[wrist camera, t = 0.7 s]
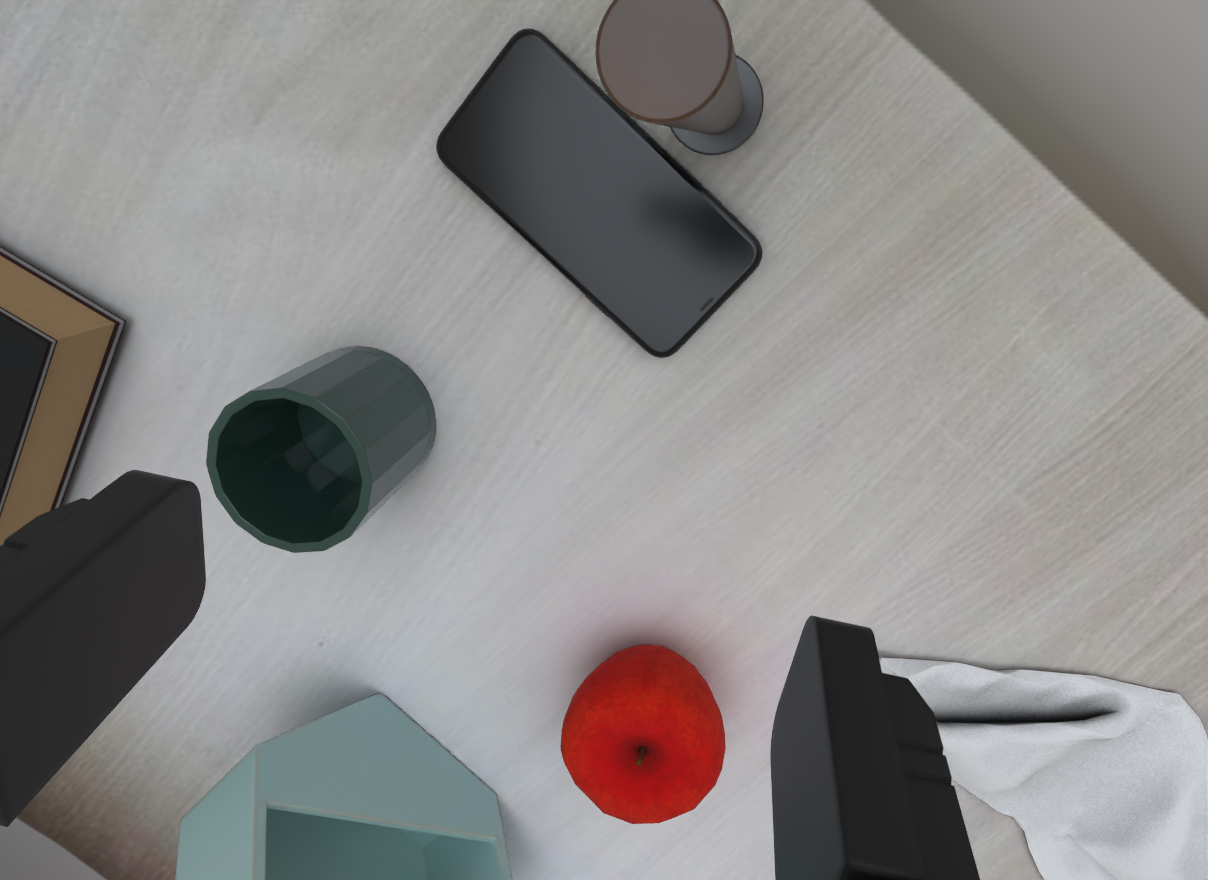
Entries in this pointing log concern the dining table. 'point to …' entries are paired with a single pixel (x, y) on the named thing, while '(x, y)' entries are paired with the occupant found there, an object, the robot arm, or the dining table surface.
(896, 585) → the dining table surface
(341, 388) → the green faceted cup
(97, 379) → the book
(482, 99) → the smartphone
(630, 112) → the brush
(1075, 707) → the cloth
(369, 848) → the planter
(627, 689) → the apple
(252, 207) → the dining table surface
